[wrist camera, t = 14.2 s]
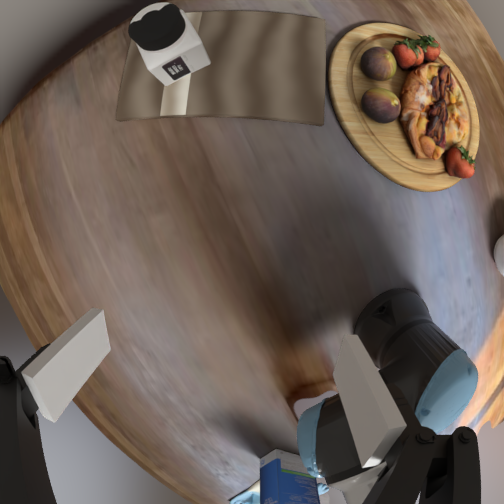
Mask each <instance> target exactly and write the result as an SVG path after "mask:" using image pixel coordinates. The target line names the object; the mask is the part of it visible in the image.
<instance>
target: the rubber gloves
mask: <svg viewBox="0 0 504 504" xmlns="http://www.w3.org/2000/svg"><path fill="white" fill-rule="evenodd" d="M317 487H318V494H319V495H321V494H324V493H325V492H327V491H328V490H329V487H326V484H323V483H319V484H317ZM250 493H254V494H250ZM240 503H242V504H260V480H259V481H257V482H256V483H255V484H253V485H252V486H251V487H250V488H249V489H248V490H247V491H245V492H244V493H241V494H239V495H237V496H236V497H234V498H233V499H232V500H231V501H230V504H240Z"/></svg>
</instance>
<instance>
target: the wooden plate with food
mask: <svg viewBox="0 0 504 504" xmlns="http://www.w3.org/2000/svg"><path fill="white" fill-rule="evenodd" d="M428 36H429V37H427V36H422V35H421V34H419V33H417V32H415V31H413V30H411V29H408V28H406V27H402V26H399V25H395V24H389V23H370V24H364V25H361V26H358V27H356V28H353V29H352V30H350V31H349V32H347V33H346V34H345V35H344V36H343V37H342V38H341V39H340V40H339V41H338V42H337V44H336V45H335V47H334V49H333V51H332V54H331V56H330V60H329V65H328V88H329V93H330V98H331V102H332V105H333V108H334V111H335V114H336V116H337V118H338V121H339V123H340V125H341V127H342V129H343V130H344V132H345V134H346V135H347V137H348V139H349V140H350V142H351V143H352V145H353V146H354V147H355V149H356V150H357V151H358V152H359V154H360V155H361V156H362V157H363V158H364V159H365V160H366V161H367V162H368V163H369V164H370V165H371V166H372V167H373V168H374V169H376V170H377V171H378V172H379V173H381V174H382V175H384V176H385V177H386V178H388V179H389V180H391V181H393V182H395V183H397V184H399V185H401V186H403V187H406V188H409V189H412V190H416V191H422V192H434V191H440V190H444V189H447V188H449V187H451V186H453V185H454V184H456V183H457V182H459V181H460V180H461V179H462V178H470V177H471V176H472V175H473V174H474V170H475V168H476V167H474V163H476V162H475V156H476V153H477V150H478V144H479V119H478V113H477V108H476V105H475V101H474V98H473V96H472V93H471V91H470V88H469V86H468V84H467V82H466V80H465V79H464V77H463V75H462V74H461V72H460V71H459V69H458V68H457V66H456V65H455V64H454V62H453V61H452V60H451V59H450V58H449V57H448V56H447V55H446V54H445V53H444V52H443V51H442V50H441V47H440V45H439V43H438V42H437V41H436V40H435V39H434V38H432V37H431V36H430V35H428Z"/></svg>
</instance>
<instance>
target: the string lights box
mask: <svg viewBox="0 0 504 504" xmlns="http://www.w3.org/2000/svg"><path fill="white" fill-rule="evenodd" d="M260 504H320V500H319V494H318V487H317V481H316V477H313V476H311V475H310V474H309V473H308V472H307V467H304V465H303V463H302V460H301V457H300V456H299V455H296V454H292V453H289V452H285V451H282V450H279V449H275V450H273V451H272V452H270V453H269V454H267V455H266V456H264V457H263V458H261V459H260Z"/></svg>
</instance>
